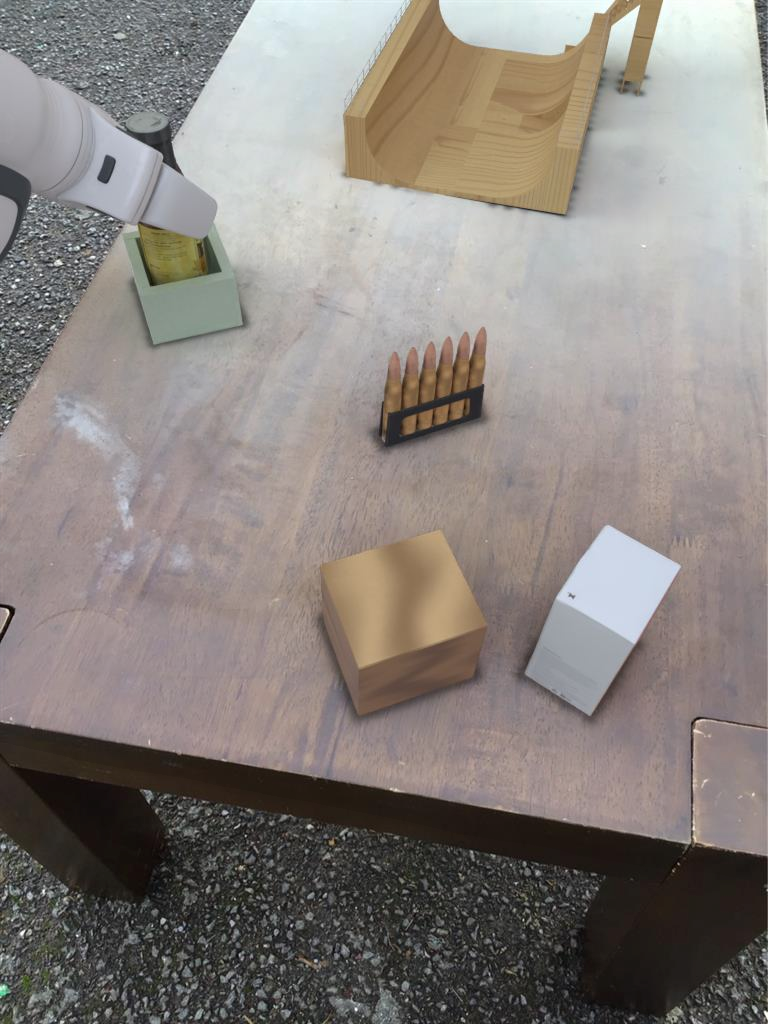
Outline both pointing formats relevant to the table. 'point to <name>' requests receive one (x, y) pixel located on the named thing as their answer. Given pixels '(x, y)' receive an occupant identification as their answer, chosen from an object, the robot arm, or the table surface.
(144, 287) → the holder
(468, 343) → the ammunition clip
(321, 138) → the table surface
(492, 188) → the skate ramp
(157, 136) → the sauce bottle
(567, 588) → the small box
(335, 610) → the wooden stand
